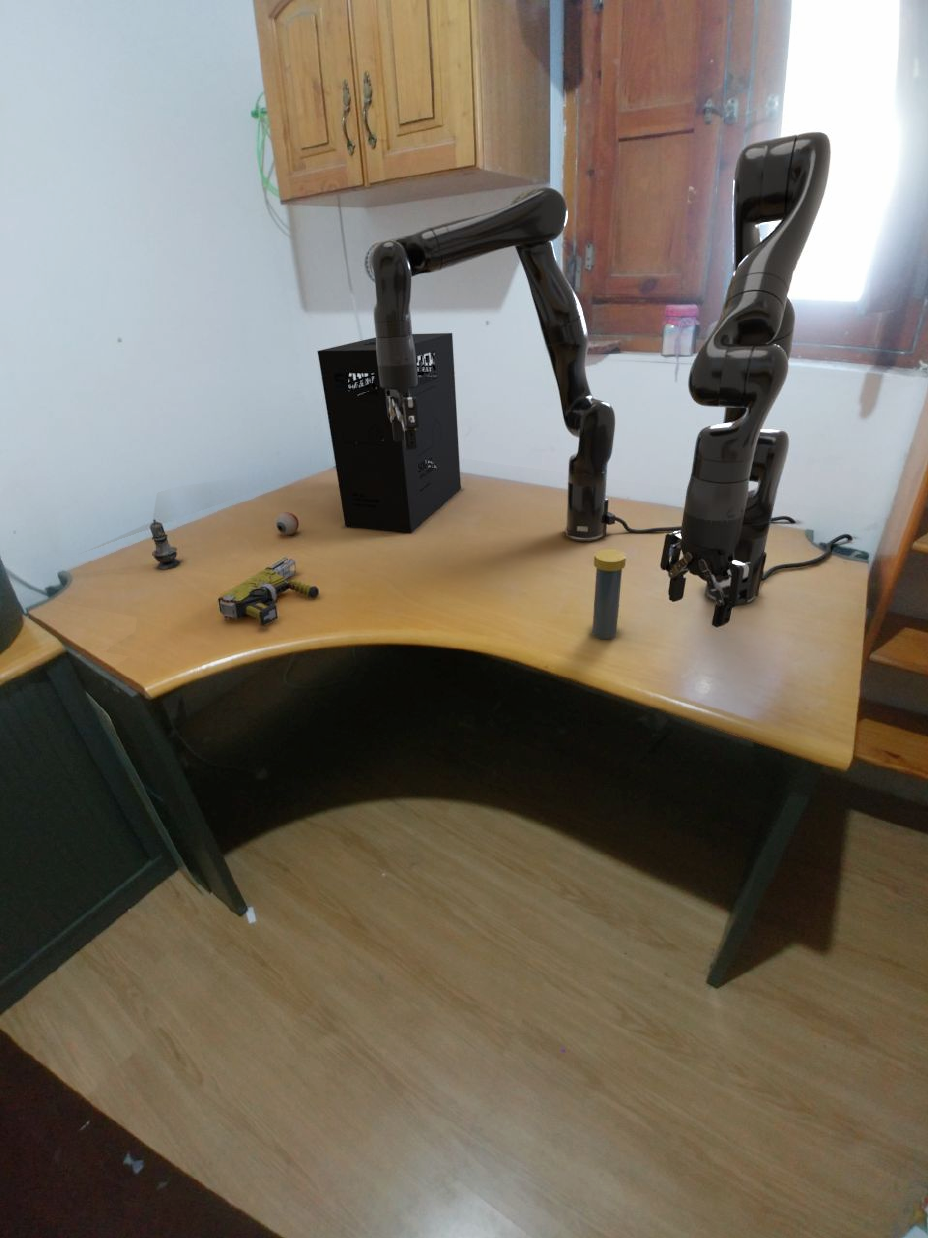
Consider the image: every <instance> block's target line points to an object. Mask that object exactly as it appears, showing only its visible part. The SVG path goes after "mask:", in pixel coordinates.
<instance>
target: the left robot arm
mask: <svg viewBox="0 0 928 1238" xmlns="http://www.w3.org/2000/svg"><path fill="white" fill-rule="evenodd" d="M568 217H569V209H568V204H567V201H566V199H565V198H564V196H563V195H562V194H561V192H559V190H557V189H555V188H553V187H548V186H540V187H535V188H531V189H528V190H525V191H522V192H520V193H518V194H517V195H515V196H514V198H513V199H512V200H511V202H510V204H509V205H507V206H505V207H503V208H502V207H501V208H499V209H496V210H493V211H490V212H489V211H488V212H486V213H482V214H477V215H472V216H468V217H463V218H462V217H461V218H459V219H454V220H449V221H446V222H443V223H440V224H436V225H433V226H429V227H426V228H423V229H421V230H419V231H416V232H415V233H412V234H409V235H404V236H400V237H395V238H391V239H387V240H384V241H379V242H375V243H373V244H372V245H371V246H370V247H369V248H368V249H367V251H366V252H365V255H364V257H363V258H364V259H363V268H364V271H365V274H366V276H367V278H369V280H371V282H373V283H374V287H375V298H376V299H375V300H376V301H375V304H374V307H373V325H374V333H375V337H376V354H377V363H378V372H379V380H380V386H381V388H383V389H385V393H386V404H387V416H388V418H390V421H391V423H392V428H393V437H394V440H395V441H403V440H405V448H406V449H407V450H412V449H416V447H417V446H416V435H415V430H416V428H419V422H418V413H417V403H416V397H415V396H413V397H411V396H410V392H409V389H410V388H411V387H415V386H416V385H417V384H418V380H417V369H416V357H415V347H414V342H413V336H412V334H413V328H412V316H411V310H410V309H411V297H412V277H415V276H418V275H423V274H430V273H435V272H439V271H442V270H445V269H449V268H452V267H454V266H455V267H456V266H458V265H461V264H463V263H466V262H469V261H471V260H474V259H477V258H479V257H482V256H485V255H488V254H491V253H495V252H498V251H500V250H504V249H507V248H511V247H514V249H515V250H516V253H517V256H518V258H519V260H520V263H521V266H522V268H523V271H524V274H525V277H526V280H527V283H528V286H529V291H530V295H531V298H532V301H533V305H534V308H535V311H536V315H537V319H538V324H539V328H540V331H541V334H542V337H543V341H544V345H545V349H546V352H547V355H548V357H549V361H550V365H551V369H552V372H553V375H554V378H555V381H556V384H557V386H556V387H557V389H558V395H559V401H560V406H561V412H562V418H563V422H564V426H565V428H566V429H567V431H568V432H569V434H571V435H572V436H573V437H576V438H578V447H577V452H576V453H574V454H572V455H570V456H569V459H568V468H567V469H568V473H567V501H566V502H567V503H566V527H565V536H566V537H567V538H568V539H570V540H572V541H576V542H583V543H584V542H586V543H587V542H594V541H599V540H600V539H602V538H604V536H607V530H608V529H607V528H608V527H607V526H612V525H615V524H616V522H618V523H620V524H621V525H622V526H623V529H624V530H625V531H627V532H629V533H631V534H650V533H657V532H675V531H679V530H681V527H682V525H679V526H678V525H677V526H664V527H651V528H645V529H633V528H631V527H629V526H628V524H627V522H626V521H625V520H623V519H622V518H620V517H619V516H616V515H615V514H613V513H612V512H610V511H609V498H607V497H606V493H607V477H608V465H609V461H610V460H611V458H612V454H613V448H614V439H615V430H616V414H615V410H614V408H613V406H612V405H611V404H610V403H608V402H606V401H604V400H600V399H597V398H594V397H593V395H592V394H593V393H592V392H591V389H590V386H589V381H588V378H587V373H586V363H587V356H588V349H589V333H588V327H587V323H586V319H585V315H584V311H583V308H582V305H581V302H580V300H579V297H578V295H577V294H576V292H575V290H574V289H573V287H572V285H571V284H570V282H569V280H568V279H567V277H566V276H565V274H564V272H563V271H562V269H561V267H560V263H559V261H558V259H557V256H556V252H555V248H554V244H553V242H554V241H555V240H557V239H558V238H559V237H560V236H561V234H562V233H563V232H564V230H565V228H566V227H567V222H568ZM409 420H410V421H411V423H409ZM777 521H788V522H789V523H791V524H796V521H795V519H794V518H792V517H790V516H788V515H780V516H774V517H773V516H772V517H771V522H777Z"/></svg>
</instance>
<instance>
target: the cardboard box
mask: <svg viewBox="0 0 928 1238" xmlns="http://www.w3.org/2000/svg"><path fill="white" fill-rule="evenodd" d="M412 336H413V342H414V347H415V357H416V369H417V380H418V384H417V385H416V386H415V387H411V388H410V389H409V392H410V396H411V397H413V396H415V397H416V403H417V413H418V422H419V428H416V430H415V435H416V446H417V447H416V449H412V450H407V449H406V448H405V440H403V441H395V440H394V437H393V428H392V423H391V421H390V418H388V416H387V404H386V393H385V389H383V388H381V386H380V380H379V372H378V363H377V354H376V336H375V337H372V338H367V339H363V340H362V339H361V340H359V341H354V342H349V343H345V344H341V345H337V346H332V347H328V348H324V349H320V350H317V357H318V363H319V371H320V376H321V381H322V387H323V394H324V400H325V407H326V413H327V420H328V427H329V431H330V438H331V439H330V440H331V445H332V450H333V457H334V463H335V464H334V465H335V470H336V476H337V483H338V488H339V494H340V502H341V508H342V515H343V520H344V526H345V527H346V528H347V527H349V528H350V527H351V528H359V529H369V530H381V531H389V532H400V533H411V534H412V533H413V532H414V531H415V530H416V529H418V528H419V526H421V525H422V524H423V523H424V522H425V521H427V520H428V519H429V518H430V517H431V516H433V514H434V513H436V512H437V511H438V510H439V509H440V508H441V507H442V506H443V505H445V504H446V503H447V502H448V501H449V500H450V499H451V498H452V497H454V496H455V495H456V494H457V493H458V492H460V490H461V489H462V481H461V465H460V463H461V462H460V448H459V428H458V411H457V410H458V409H457V393H456V392H457V391H456V377H455V375H456V374H455V373H456V372H455V358H454V338H453V337H454V336H453V332H438V333H437V332H436V333H434V332H433V333H432V332H431V333H412ZM429 354H430V355H429ZM419 357H420V359H419ZM431 361H432V363H431ZM430 363H431V364H430ZM350 374H351V375H350ZM358 374H359V375H360V376H358ZM354 376H355V379H354ZM409 423H411V421H410V420H409Z"/></svg>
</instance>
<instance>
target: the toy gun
mask: <svg viewBox="0 0 928 1238" xmlns="http://www.w3.org/2000/svg"><path fill="white" fill-rule="evenodd" d="M296 563H297V562H296V560H295V559H294V558H288V557H283V558H282V559H281V560H278V561H277V562H276V563H273V564H272V565H271V566H270V567H269V566H266V567H265V568H264V569H263V570H261V571H259V572H258V573H255V575H253V576H251V577H250V578H248V579H246V580H245V581H243V582H241V583H240V584H238V585H236V586H234V587H233V588H232V589H230V590H228V591H227V592H225V593H224V594H222V595H220V596H219V597H217V603H218V609H219V612H220V614H221V615H222V616H224V619H226V620H227V619H229V620H230V621H231V620H233V619H235V620H241V619H246V618H249V617H253V618H255V619H257V620H258V621H260V626H262V627H265V626H266V625H268V624H270V623H272V622H274V621H275V620H277V619H278V618H279V617H278V608H277V605H276V604H275V602H276V601H277V596H278V595H280V594H282V593H285V592H286V591H288V590H292V591H294V592H297V593H299V594H303V595H305V596H308V597H310V598H311V599H314V598H316V597H318V596H319V595H320V590H319V588H318V586H316V585H315V586H314V585H310V584H308V583H307V584H306V583H305V582H302V581H298V580H297V579H291V580H290V581H289V582H288V581H287V579H288V578H289V579H290V577H292V576H293V575H295V574H296V573H297V566H296V565H297V564H296ZM293 566H294V570H292V569H291V568H292V567H293Z"/></svg>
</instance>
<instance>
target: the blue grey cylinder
mask: <svg viewBox="0 0 928 1238" xmlns="http://www.w3.org/2000/svg"><path fill="white" fill-rule="evenodd" d="M595 568H596V567H595ZM595 570H596V571H595V581H594V582H595V584H594V596H593V597H594V598H593V614H592V629H591V634H592V635H593V636H594V637H595V638H597V639H600V640H610V639H614V638H615V637H616V636H617V631H618V630H617V629H618V620H619V608H620V597H621V587H622V586H621V585H622V574H623V569H621V570H618V571H604V570H600V569H598V568H596V569H595Z"/></svg>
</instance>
